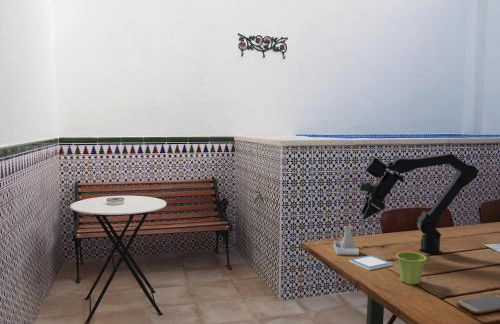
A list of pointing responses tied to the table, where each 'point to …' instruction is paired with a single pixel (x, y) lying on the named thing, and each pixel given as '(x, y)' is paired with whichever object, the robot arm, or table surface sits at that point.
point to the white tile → (370, 262)
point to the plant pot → (411, 267)
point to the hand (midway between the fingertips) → (362, 216)
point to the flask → (347, 238)
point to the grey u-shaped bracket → (345, 249)
